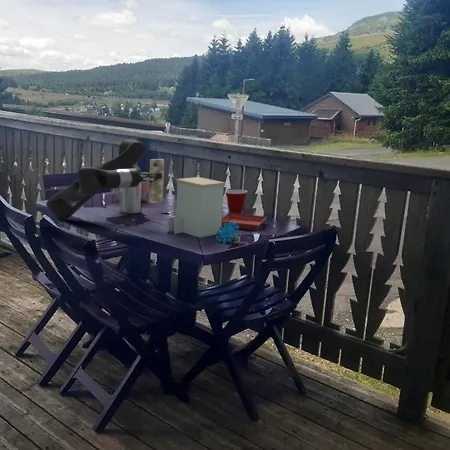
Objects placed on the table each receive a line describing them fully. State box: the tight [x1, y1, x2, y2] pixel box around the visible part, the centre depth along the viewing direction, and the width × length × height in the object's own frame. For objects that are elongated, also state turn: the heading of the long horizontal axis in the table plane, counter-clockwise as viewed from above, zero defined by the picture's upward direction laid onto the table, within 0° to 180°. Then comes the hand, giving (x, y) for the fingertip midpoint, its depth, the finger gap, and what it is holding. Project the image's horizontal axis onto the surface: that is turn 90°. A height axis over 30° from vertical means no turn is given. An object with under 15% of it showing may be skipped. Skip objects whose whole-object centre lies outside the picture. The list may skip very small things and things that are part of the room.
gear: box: [215, 222, 241, 244], centre depth 208 cm, size 11×6×10 cm
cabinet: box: [167, 176, 226, 238], centre depth 216 cm, size 17×15×21 cm
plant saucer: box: [221, 212, 267, 231], centre depth 237 cm, size 18×18×3 cm
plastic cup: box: [224, 189, 248, 214], centre depth 254 cm, size 11×11×12 cm
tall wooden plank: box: [148, 158, 165, 204], centre depth 221 cm, size 6×3×18 cm, turn 135°
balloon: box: [118, 182, 149, 200], centre depth 272 cm, size 15×20×15 cm
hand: (160, 175), depth 222 cm, fingers closed on tall wooden plank, 1 cm apart
